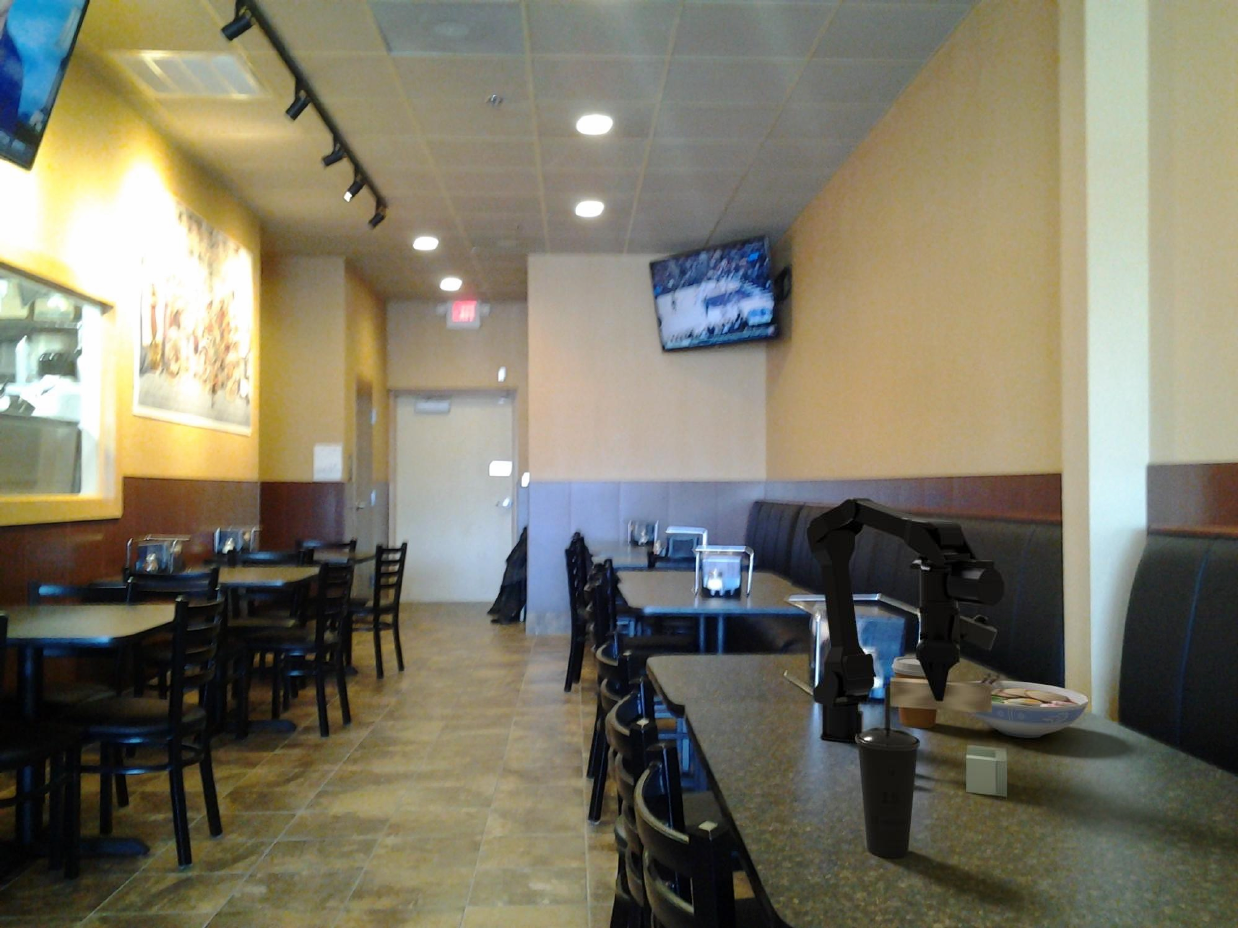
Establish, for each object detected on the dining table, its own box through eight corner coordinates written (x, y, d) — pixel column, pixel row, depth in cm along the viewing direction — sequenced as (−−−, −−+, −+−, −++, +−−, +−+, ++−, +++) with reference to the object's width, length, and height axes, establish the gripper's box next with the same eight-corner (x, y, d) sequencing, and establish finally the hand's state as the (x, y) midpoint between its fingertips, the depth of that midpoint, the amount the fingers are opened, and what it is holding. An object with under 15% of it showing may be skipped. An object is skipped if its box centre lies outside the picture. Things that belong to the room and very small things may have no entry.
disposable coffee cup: (947, 731, 173) (947, 666, 173) (893, 728, 174) (893, 663, 175) (940, 719, 182) (940, 657, 182) (889, 716, 184) (889, 655, 184)
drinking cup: (846, 839, 118) (847, 680, 119) (905, 838, 119) (905, 679, 119) (867, 863, 110) (868, 692, 111) (930, 862, 111) (930, 692, 112)
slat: (890, 706, 149) (890, 680, 149) (890, 702, 152) (890, 677, 152) (991, 712, 145) (991, 686, 145) (989, 708, 148) (989, 683, 148)
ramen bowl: (1081, 758, 156) (1081, 709, 156) (940, 738, 168) (940, 692, 168) (1096, 727, 177) (1096, 684, 177) (969, 711, 189) (969, 670, 189)
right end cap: (1005, 781, 143) (1005, 748, 143) (1006, 796, 136) (1006, 761, 136) (967, 777, 145) (967, 744, 145) (966, 791, 138) (966, 757, 138)
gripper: (995, 608, 137) (996, 715, 137) (991, 596, 155) (992, 691, 154) (915, 605, 141) (916, 709, 141) (920, 593, 159) (921, 686, 158)
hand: (939, 698), depth 148 cm, fingers closed on slat, 3 cm apart
